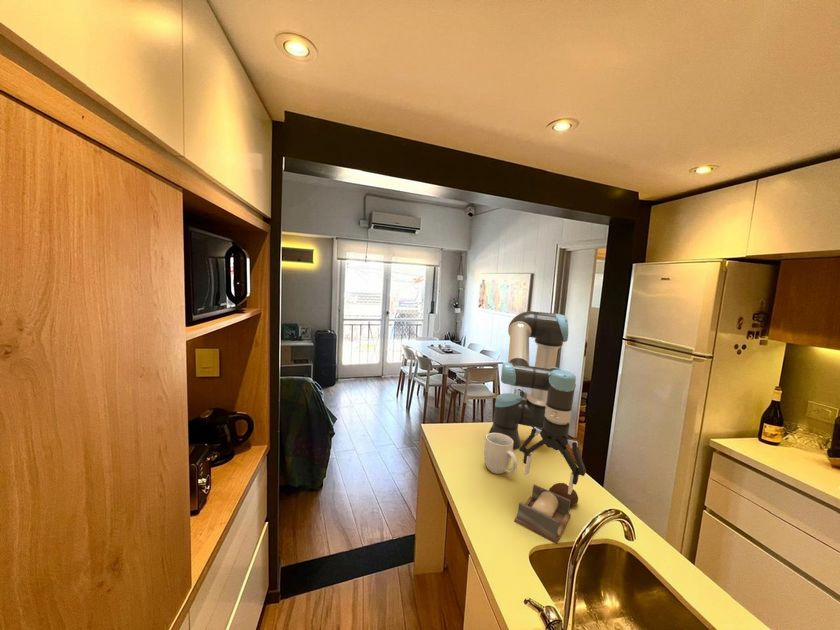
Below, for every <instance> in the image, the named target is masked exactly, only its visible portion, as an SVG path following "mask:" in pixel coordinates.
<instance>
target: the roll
mask: <svg viewBox="0 0 840 630" xmlns="http://www.w3.org/2000/svg"><path fill="white" fill-rule="evenodd" d="M557 507H558V500H557V498H556V497H555V496H554V495H553V494H552V493H550V492H546V491H545V492H542V493H541V495H540V496H539V497H538V499H537V500H536V502H535V503H534V504H533V506H532V507H531V508H534V509H536V510H538V511H540V512H542V513H544V514H546V515H548V516H550V517H552V516H553V514H554V512H555V511H556V509H557Z"/></svg>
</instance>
